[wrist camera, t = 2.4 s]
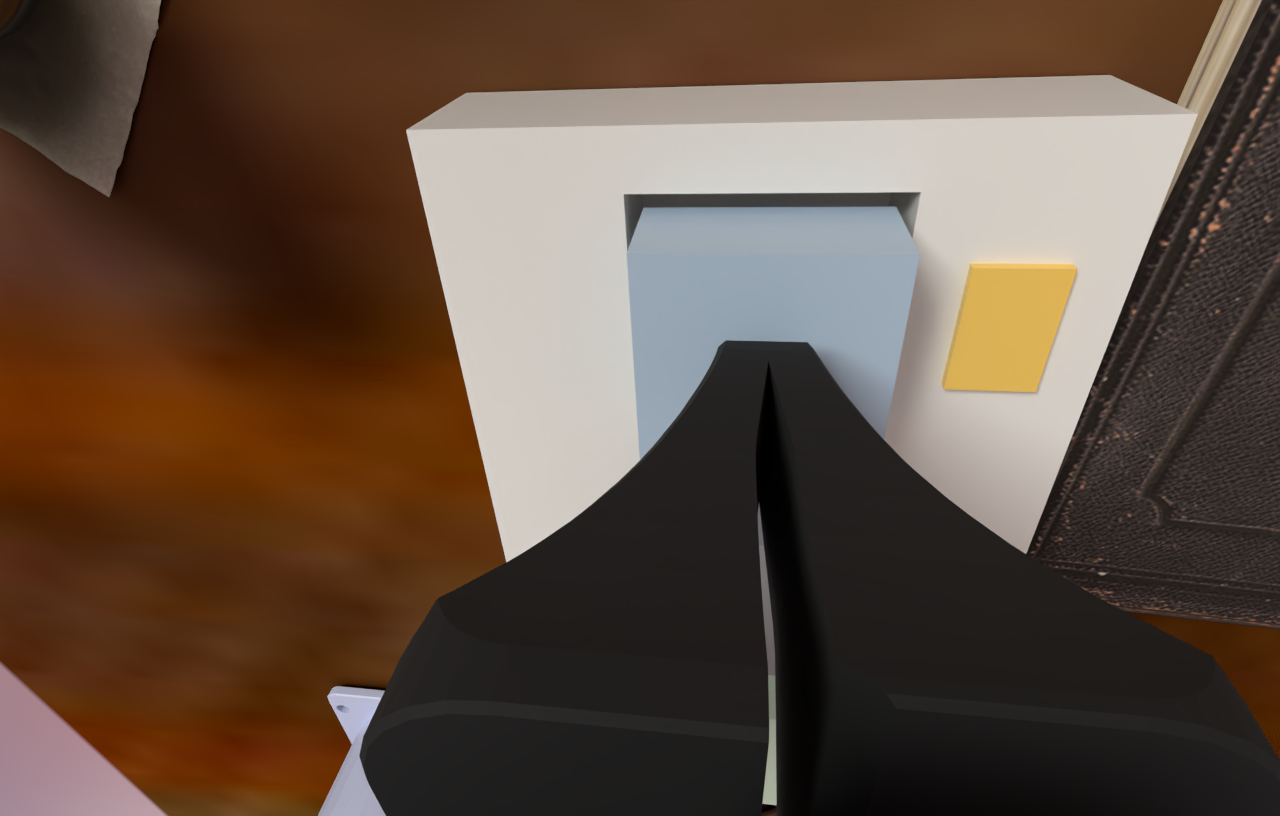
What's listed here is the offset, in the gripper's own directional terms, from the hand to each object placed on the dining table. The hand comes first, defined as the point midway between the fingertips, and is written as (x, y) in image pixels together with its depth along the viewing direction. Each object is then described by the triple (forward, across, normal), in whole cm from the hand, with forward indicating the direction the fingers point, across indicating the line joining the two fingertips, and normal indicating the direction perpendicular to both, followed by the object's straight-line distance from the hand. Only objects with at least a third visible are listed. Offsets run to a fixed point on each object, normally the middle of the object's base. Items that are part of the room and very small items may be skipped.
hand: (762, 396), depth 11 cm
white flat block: (+5, 0, +6) cm, 8 cm away
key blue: (+3, 0, 0) cm, 3 cm away
